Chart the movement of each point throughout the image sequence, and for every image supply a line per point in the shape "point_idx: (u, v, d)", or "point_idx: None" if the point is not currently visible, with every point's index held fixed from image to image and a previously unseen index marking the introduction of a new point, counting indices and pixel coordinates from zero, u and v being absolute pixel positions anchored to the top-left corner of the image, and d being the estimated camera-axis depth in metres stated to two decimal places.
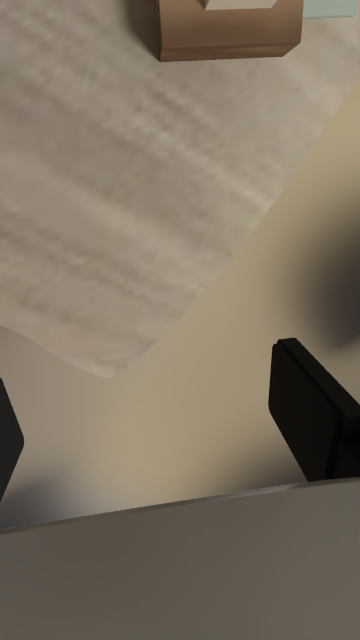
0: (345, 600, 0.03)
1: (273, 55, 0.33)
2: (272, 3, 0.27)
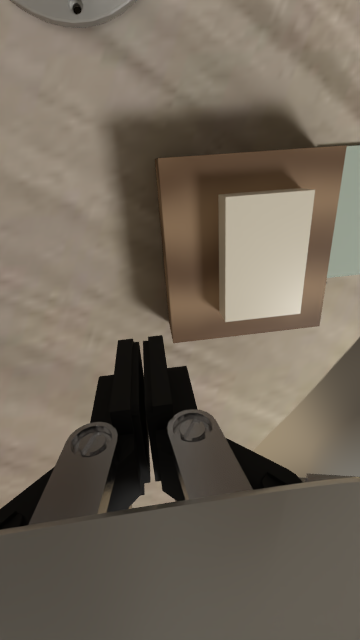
0: (345, 600, 0.03)
1: None
2: None
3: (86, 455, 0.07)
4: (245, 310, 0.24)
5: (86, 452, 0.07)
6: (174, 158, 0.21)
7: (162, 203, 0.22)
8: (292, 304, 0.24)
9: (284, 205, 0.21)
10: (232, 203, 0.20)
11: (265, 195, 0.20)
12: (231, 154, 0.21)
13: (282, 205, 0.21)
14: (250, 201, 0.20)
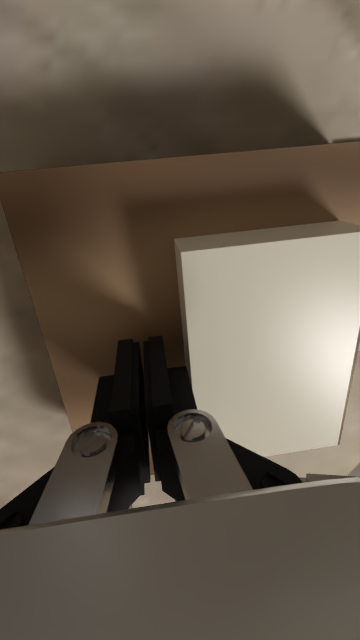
0: (345, 600, 0.03)
1: None
2: None
3: (86, 455, 0.07)
4: None
5: (86, 452, 0.07)
6: (30, 172, 0.09)
7: (23, 263, 0.11)
8: (323, 432, 0.13)
9: (310, 263, 0.10)
10: (197, 264, 0.09)
11: (269, 245, 0.09)
12: (156, 161, 0.10)
13: (306, 264, 0.10)
14: (236, 259, 0.09)
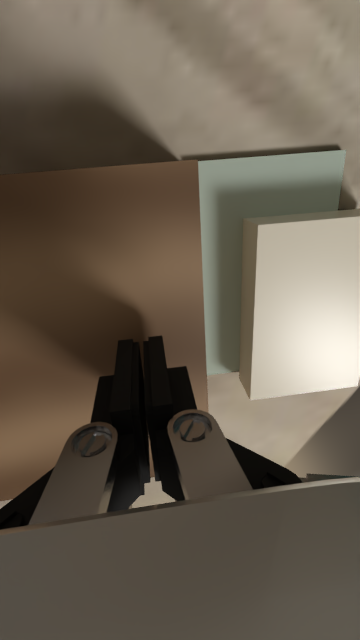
0: (345, 600, 0.03)
1: None
2: None
3: (86, 455, 0.07)
4: None
5: (86, 452, 0.07)
6: None
7: None
8: None
9: None
10: None
11: None
12: None
13: None
14: None
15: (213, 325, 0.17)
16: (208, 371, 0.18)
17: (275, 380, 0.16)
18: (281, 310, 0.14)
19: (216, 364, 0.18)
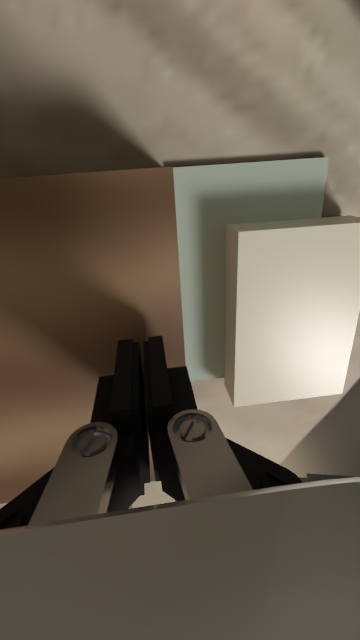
0: (345, 600, 0.03)
1: None
2: None
3: (86, 455, 0.07)
4: None
5: (86, 452, 0.07)
6: None
7: None
8: None
9: None
10: None
11: None
12: None
13: None
14: None
15: (197, 331, 0.17)
16: (193, 377, 0.18)
17: (259, 387, 0.16)
18: (263, 317, 0.14)
19: (201, 370, 0.18)
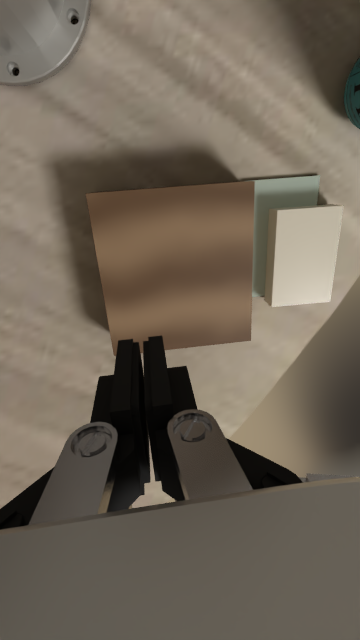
0: (345, 600, 0.03)
1: None
2: None
3: (86, 455, 0.07)
4: None
5: (86, 452, 0.07)
6: (100, 193, 0.24)
7: (93, 231, 0.25)
8: None
9: None
10: None
11: (304, 207, 0.29)
12: (151, 189, 0.24)
13: None
14: None
15: None
16: None
17: (285, 295, 0.30)
18: (288, 254, 0.29)
19: (252, 290, 0.32)
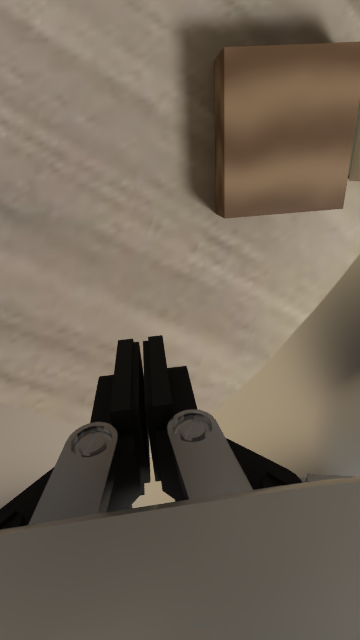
0: (345, 600, 0.03)
1: None
2: (356, 180, 0.35)
3: (86, 455, 0.07)
4: None
5: (86, 452, 0.07)
6: (236, 47, 0.27)
7: (224, 87, 0.28)
8: None
9: None
10: None
11: None
12: (280, 46, 0.27)
13: None
14: None
15: None
16: None
17: None
18: None
19: None
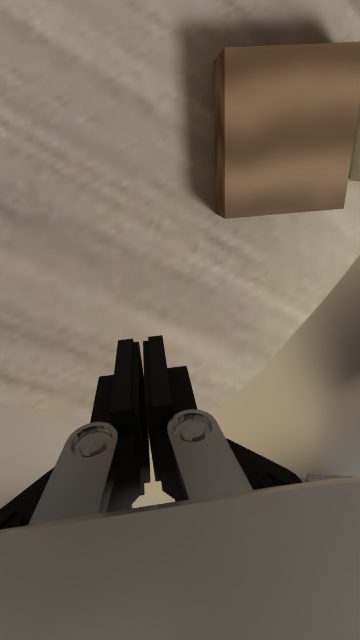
0: (345, 600, 0.03)
1: None
2: (357, 180, 0.35)
3: (86, 455, 0.07)
4: None
5: (86, 452, 0.07)
6: (237, 47, 0.27)
7: (225, 87, 0.28)
8: None
9: None
10: None
11: None
12: (280, 46, 0.27)
13: None
14: None
15: None
16: None
17: None
18: None
19: None
